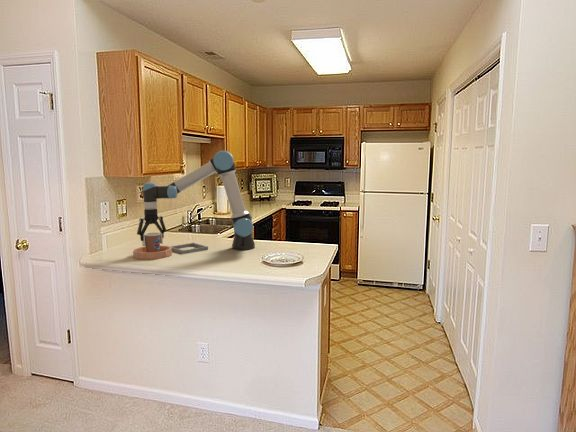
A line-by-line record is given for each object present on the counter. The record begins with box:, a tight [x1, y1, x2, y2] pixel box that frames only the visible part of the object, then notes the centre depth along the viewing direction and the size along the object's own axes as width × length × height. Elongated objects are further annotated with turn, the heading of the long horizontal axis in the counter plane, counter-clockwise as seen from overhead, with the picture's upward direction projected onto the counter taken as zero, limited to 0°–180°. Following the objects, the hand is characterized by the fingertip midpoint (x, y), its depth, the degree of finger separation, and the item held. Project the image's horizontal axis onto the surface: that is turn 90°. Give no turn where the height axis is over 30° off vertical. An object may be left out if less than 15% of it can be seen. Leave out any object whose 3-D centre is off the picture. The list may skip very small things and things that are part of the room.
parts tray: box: [170, 242, 209, 255], centre depth 259 cm, size 18×18×2 cm
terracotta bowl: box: [132, 244, 173, 261], centre depth 242 cm, size 22×22×4 cm
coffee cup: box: [144, 232, 161, 253], centre depth 242 cm, size 10×10×12 cm
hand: (152, 244), depth 242 cm, fingers closed on coffee cup, 10 cm apart
